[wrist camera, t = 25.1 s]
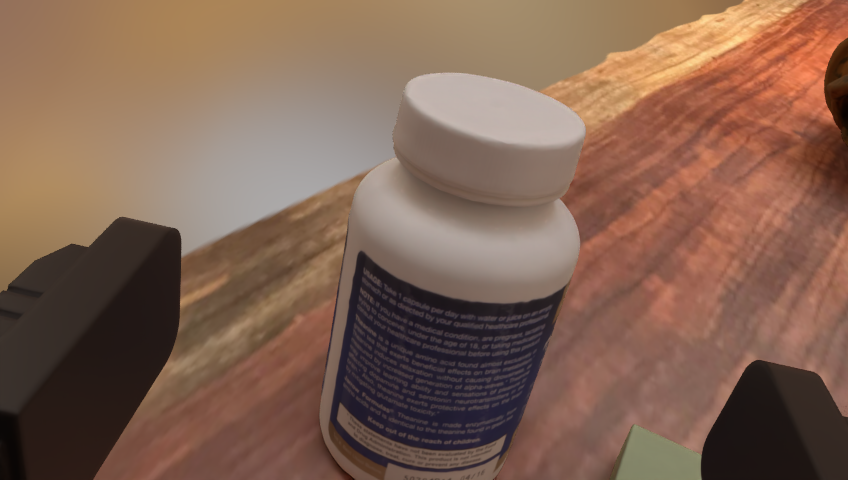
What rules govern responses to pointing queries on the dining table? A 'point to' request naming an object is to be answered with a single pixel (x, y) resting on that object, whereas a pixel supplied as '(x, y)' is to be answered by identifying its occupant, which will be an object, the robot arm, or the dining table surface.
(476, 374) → the pill bottle
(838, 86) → the brown looped sculpture
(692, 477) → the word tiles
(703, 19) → the dining table surface
